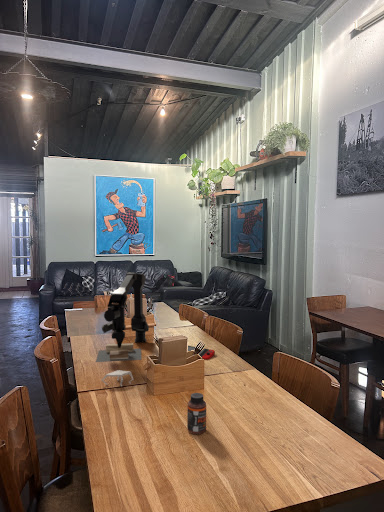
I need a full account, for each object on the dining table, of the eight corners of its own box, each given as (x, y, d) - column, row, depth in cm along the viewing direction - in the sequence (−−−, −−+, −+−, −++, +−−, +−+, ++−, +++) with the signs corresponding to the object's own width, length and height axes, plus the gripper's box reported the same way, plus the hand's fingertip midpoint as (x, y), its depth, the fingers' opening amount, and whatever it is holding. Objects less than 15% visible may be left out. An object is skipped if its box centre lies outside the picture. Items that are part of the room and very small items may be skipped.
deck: (109, 354, 181) (109, 359, 181) (128, 353, 182) (128, 358, 182) (110, 350, 187) (110, 355, 187) (128, 350, 188) (128, 354, 188)
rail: (106, 351, 194) (106, 344, 194) (133, 350, 197) (133, 343, 196) (106, 353, 191) (106, 346, 191) (133, 352, 194) (133, 344, 193)
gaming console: (157, 348, 195) (167, 340, 204) (158, 355, 196) (168, 347, 205) (206, 356, 181) (215, 347, 189) (207, 364, 181) (216, 355, 190)
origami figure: (126, 377, 159) (126, 366, 159) (134, 384, 152) (134, 372, 152) (99, 383, 153) (99, 372, 153) (105, 391, 146) (105, 378, 145)
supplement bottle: (200, 437, 112) (200, 401, 112) (183, 431, 115) (183, 396, 115) (209, 428, 117) (209, 393, 117) (193, 423, 120) (193, 389, 120)
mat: (99, 351, 195) (99, 350, 195) (140, 349, 199) (140, 348, 199) (95, 362, 178) (95, 362, 178) (141, 360, 181) (141, 359, 181)
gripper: (104, 313, 194) (104, 343, 195) (100, 322, 176) (101, 354, 176) (125, 313, 196) (125, 342, 197) (124, 321, 177) (124, 353, 178)
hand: (119, 347), depth 187 cm, fingers closed
